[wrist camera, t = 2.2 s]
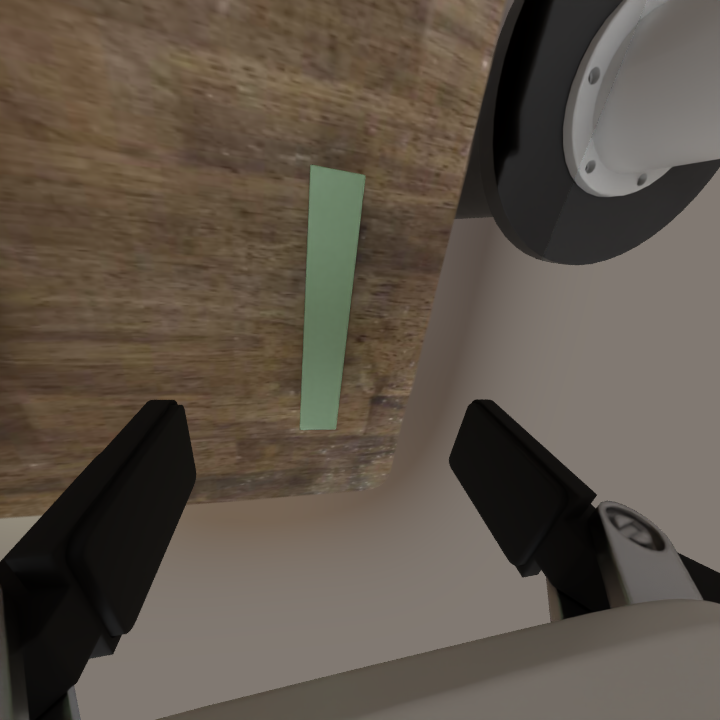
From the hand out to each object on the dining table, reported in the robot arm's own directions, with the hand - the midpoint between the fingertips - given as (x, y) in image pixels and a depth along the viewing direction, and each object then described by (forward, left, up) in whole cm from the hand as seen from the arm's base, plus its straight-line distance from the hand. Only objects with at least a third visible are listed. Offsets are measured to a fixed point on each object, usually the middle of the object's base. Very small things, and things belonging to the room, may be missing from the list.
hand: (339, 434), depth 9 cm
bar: (0, 0, -14) cm, 14 cm away
